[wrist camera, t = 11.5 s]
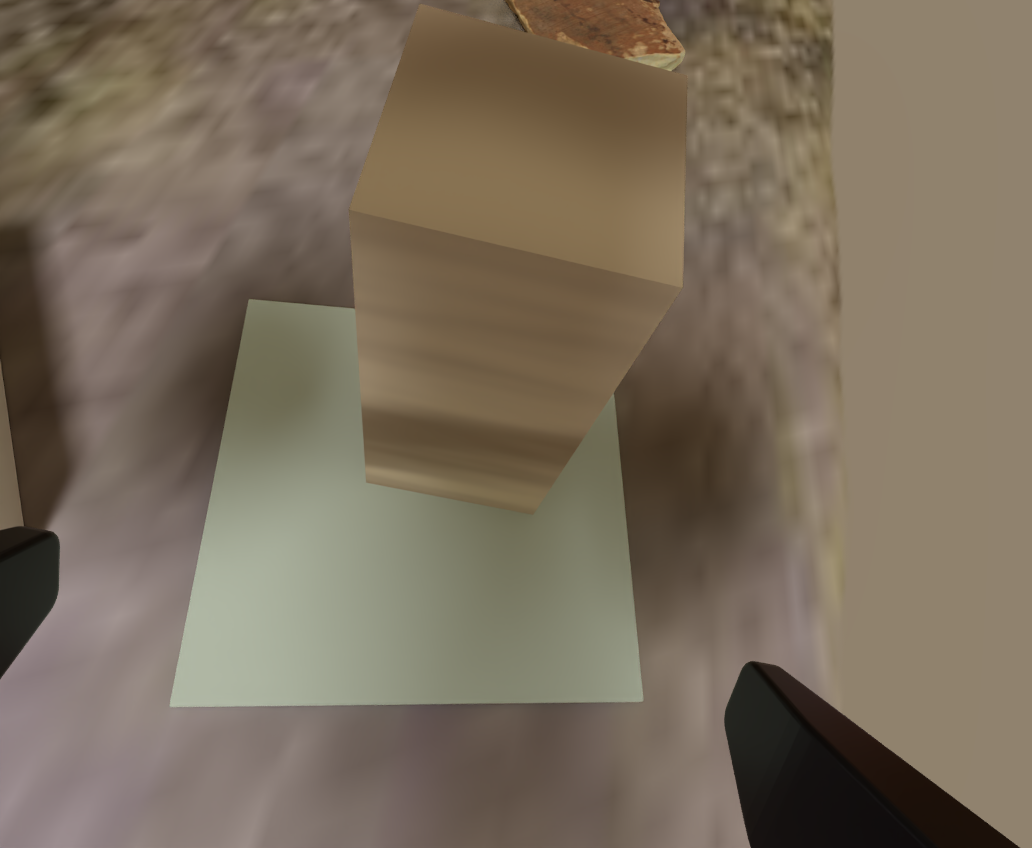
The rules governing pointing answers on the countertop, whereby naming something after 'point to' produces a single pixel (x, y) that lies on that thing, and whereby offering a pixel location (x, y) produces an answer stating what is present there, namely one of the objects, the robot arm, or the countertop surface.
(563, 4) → the shard
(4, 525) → the stand
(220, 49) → the countertop surface
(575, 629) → the mat
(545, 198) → the oak block
